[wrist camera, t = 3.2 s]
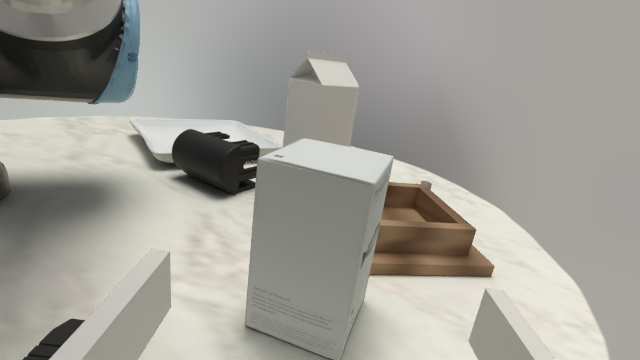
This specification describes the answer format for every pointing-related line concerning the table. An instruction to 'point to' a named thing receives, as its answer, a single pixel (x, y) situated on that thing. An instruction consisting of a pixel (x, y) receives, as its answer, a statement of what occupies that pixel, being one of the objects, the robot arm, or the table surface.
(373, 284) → the table surface
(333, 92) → the milk carton
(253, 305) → the supplement box
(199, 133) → the end cap
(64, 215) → the table surface
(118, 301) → the robot arm
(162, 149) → the salad plate
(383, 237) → the jig
